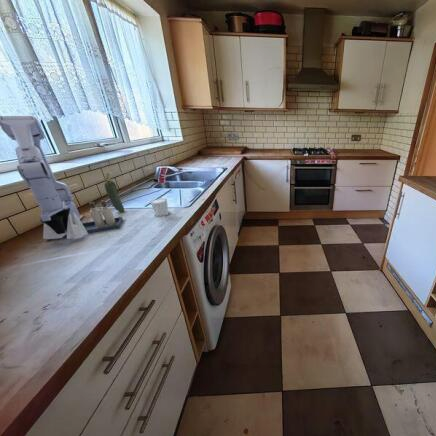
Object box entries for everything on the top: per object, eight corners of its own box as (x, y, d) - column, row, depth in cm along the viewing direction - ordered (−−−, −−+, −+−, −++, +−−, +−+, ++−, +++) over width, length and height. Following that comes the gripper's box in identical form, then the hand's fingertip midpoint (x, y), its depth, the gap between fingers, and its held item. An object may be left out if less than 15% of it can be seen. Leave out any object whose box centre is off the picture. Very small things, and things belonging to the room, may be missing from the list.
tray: (57, 231, 95) (55, 227, 94) (123, 220, 104) (121, 216, 103) (47, 241, 88) (45, 237, 87) (119, 229, 97) (118, 225, 96)
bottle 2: (108, 224, 99) (98, 200, 94) (117, 223, 101) (108, 199, 96) (106, 227, 97) (96, 202, 92) (115, 226, 98) (106, 201, 93)
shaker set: (45, 243, 84) (30, 216, 79) (52, 237, 87) (38, 211, 83) (83, 238, 87) (71, 212, 82) (89, 233, 90) (77, 208, 86)
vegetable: (119, 214, 110) (104, 174, 101) (112, 214, 111) (96, 173, 102) (127, 211, 114) (113, 171, 105) (120, 210, 114) (106, 171, 106)
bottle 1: (97, 226, 98) (87, 201, 93) (106, 224, 99) (97, 200, 94) (95, 229, 95) (85, 204, 90) (105, 227, 97) (95, 203, 92)
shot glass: (165, 217, 107) (161, 203, 104) (151, 217, 107) (147, 203, 104) (172, 211, 113) (169, 198, 110) (159, 211, 114) (155, 198, 111)
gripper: (53, 201, 75) (70, 237, 81) (69, 189, 87) (83, 220, 93) (24, 205, 73) (44, 241, 79) (45, 191, 84) (61, 224, 90)
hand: (64, 230), depth 86 cm, fingers closed on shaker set, 4 cm apart
